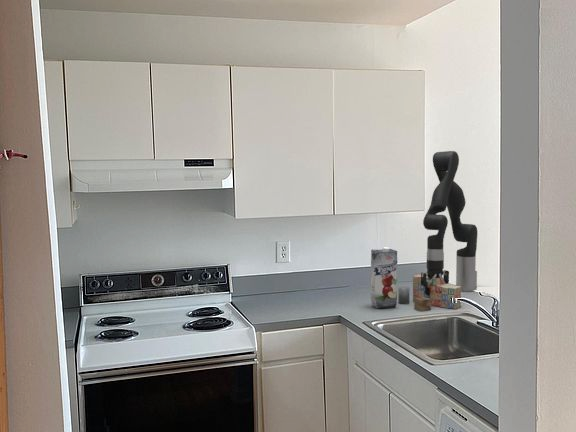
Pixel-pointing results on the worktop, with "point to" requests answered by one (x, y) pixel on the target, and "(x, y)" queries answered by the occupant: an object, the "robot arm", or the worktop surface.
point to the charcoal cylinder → (403, 295)
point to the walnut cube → (422, 304)
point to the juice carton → (384, 278)
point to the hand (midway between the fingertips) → (434, 294)
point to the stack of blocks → (437, 292)
